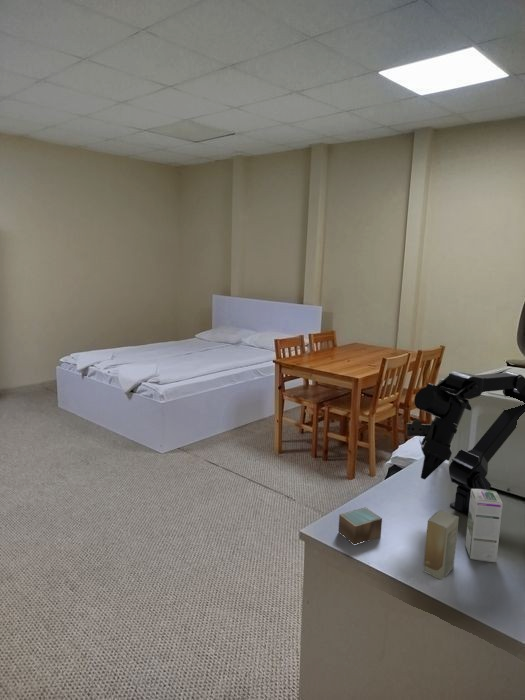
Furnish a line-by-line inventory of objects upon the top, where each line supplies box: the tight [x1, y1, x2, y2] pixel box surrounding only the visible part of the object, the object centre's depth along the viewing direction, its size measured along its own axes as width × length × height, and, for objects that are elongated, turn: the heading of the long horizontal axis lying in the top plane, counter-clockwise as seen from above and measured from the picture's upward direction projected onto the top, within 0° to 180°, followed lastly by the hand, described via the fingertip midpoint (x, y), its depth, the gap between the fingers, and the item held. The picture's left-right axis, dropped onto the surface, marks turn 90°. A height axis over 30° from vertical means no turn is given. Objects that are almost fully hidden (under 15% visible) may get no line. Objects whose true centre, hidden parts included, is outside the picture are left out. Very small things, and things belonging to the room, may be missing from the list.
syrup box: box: [465, 489, 504, 563], centre depth 110 cm, size 6×6×14 cm
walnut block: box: [338, 506, 383, 545], centre depth 117 cm, size 5×6×8 cm
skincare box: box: [422, 509, 460, 581], centre depth 104 cm, size 6×4×12 cm
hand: (422, 478), depth 122 cm, fingers closed
